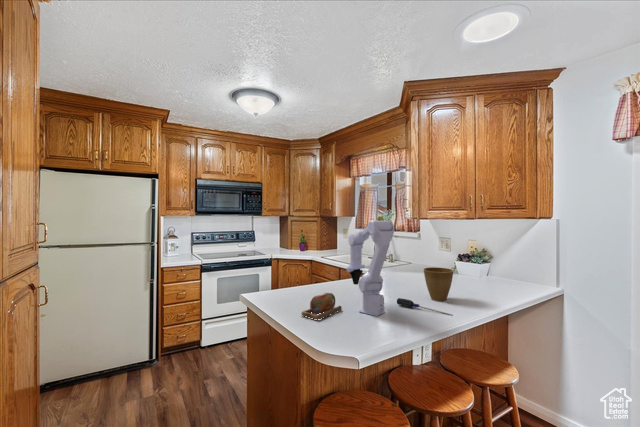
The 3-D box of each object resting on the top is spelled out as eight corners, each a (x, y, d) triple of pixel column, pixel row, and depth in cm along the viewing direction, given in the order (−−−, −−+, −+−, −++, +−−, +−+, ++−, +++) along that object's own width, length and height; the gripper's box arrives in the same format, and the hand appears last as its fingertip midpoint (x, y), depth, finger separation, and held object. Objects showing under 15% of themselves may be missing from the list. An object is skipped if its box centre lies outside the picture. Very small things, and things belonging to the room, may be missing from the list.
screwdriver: (453, 314, 135) (453, 306, 135) (452, 317, 132) (452, 308, 132) (398, 304, 150) (398, 297, 150) (395, 306, 147) (395, 298, 147)
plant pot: (447, 295, 166) (448, 267, 166) (457, 304, 151) (457, 272, 151) (420, 295, 167) (420, 266, 167) (427, 303, 153) (427, 271, 153)
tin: (313, 317, 131) (313, 298, 131) (308, 315, 133) (308, 296, 133) (335, 309, 142) (336, 291, 142) (331, 308, 144) (331, 290, 144)
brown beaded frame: (341, 310, 140) (341, 306, 140) (317, 321, 126) (317, 316, 126) (326, 306, 146) (326, 302, 146) (301, 316, 132) (301, 311, 132)
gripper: (356, 255, 161) (356, 280, 161) (341, 258, 150) (341, 285, 150) (368, 256, 157) (368, 282, 157) (353, 260, 145) (353, 287, 145)
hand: (355, 284), depth 153 cm, fingers closed
